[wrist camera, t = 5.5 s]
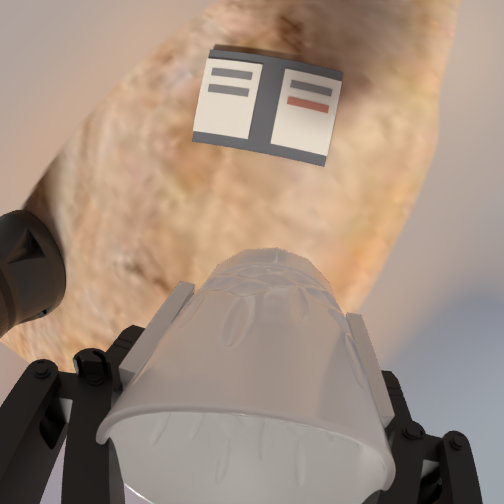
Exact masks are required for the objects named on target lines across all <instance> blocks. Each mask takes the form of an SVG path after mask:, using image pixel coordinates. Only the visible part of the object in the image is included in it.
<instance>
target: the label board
mask: <svg viewBox="0 0 504 504" xmlns="http://www.w3.org/2000/svg"><path fill="white" fill-rule="evenodd" d="M342 76H343V72H339V71H336V70H332V69H328V68H324V67H320V66H315V65H311V64H307V63H302V62H297V61H292V60H287V59H281V58H275V57H269V56H263V55H256V54H249V53H241V52H231V51H221V50H210V53H209V57H208V58H207V62H206V66H205V71H204V75H203V80H202V85H201V90H200V95H199V100H198V105H197V110H196V116H195V121H194V127H193V131H194V132H193V138H192V142H199V143H206V144H213V145H219V146H225V147H231V148H237V149H243V150H248V151H253V152H259V153H264V154H269V155H274V156H279V157H283V158H288V159H293V160H297V161H302V162H306V163H310V164H315V165H319V166H323V167H324V165H325V161H326V156H327V154H328V149H329V145H330V140H331V135H332V130H333V125H334V120H335V115H336V110H337V105H338V100H339V95H340V90H341V84H342Z"/></svg>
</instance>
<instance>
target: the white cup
mask: <svg viewBox="0 0 504 504" xmlns="http://www.w3.org/2000/svg"><path fill="white" fill-rule="evenodd" d="M109 437H110V438H111V439H112V441H113V443H114V445H115V449H116V452H117V456H118V460H119V465H120V470H121V475H122V479H123V483H124V485H125V486H126V487H128V488H129V489H130V490H131V491H133V492H134V493H136V494H137V495H139V496H140V497H142V498H143V499H145V500H147V501H148V502H150V503H152V504H362V503H363V502H364V500H365V499H366V498H367V497H368V496H370V495H371V494H372V493H373V492H375V491H377V490H380V489H381V490H383V491H386V490H388V489H389V488H390V486H391V485H392V483H393V481H394V478H395V472H396V467H395V462H394V459H393V455H392V452H391V449H390V445H389V442H388V439H387V435H386V432H385V429H384V426H383V423H382V419H381V416H380V413H379V410H378V407H377V404H376V401H375V398H374V394H373V391H372V388H371V385H370V382H369V379H368V376H367V373H366V370H365V367H364V365H363V362H362V359H361V356H360V353H359V350H358V348H357V345H356V342H355V340H354V338H353V336H352V334H351V331H350V328H349V326H348V323H347V321H346V318H345V316H344V314H343V313H342V311H341V309H340V307H339V306H338V304H337V302H336V300H335V297H334V294H333V291H332V288H331V285H330V283H329V281H328V280H327V279H326V278H325V277H324V275H323V274H322V273H321V272H320V271H319V270H318V269H317V268H316V267H315V266H314V265H313V264H312V263H311V262H310V261H309V260H308V259H307V258H304V257H301V256H299V255H296V254H293V253H291V252H288V251H286V250H283V249H280V248H262V249H247V250H243V251H241V252H239V253H238V254H236V255H234V256H232V257H231V258H229V259H227V260H225V261H223V262H222V263H220V264H218V265H217V266H216V268H215V269H214V271H213V272H212V274H211V275H210V277H209V278H208V280H207V281H206V282H205V284H204V285H203V286H202V287H201V288H200V289H199V290H198V291H197V292H196V293H195V294H194V295H193V296H192V297H191V298H190V299H189V301H188V302H187V303H186V304H185V306H184V307H183V308H182V310H181V311H180V312H179V314H178V315H177V316H176V318H175V319H174V320H173V322H172V323H171V324H170V325H169V326H168V328H167V329H166V330H165V331H164V333H163V334H162V335H161V337H160V338H159V340H158V341H157V343H156V344H155V346H154V347H153V349H152V350H151V351H150V353H149V354H148V356H147V357H146V359H145V360H144V362H143V363H142V364H141V366H140V367H139V369H138V370H137V372H136V373H135V375H134V376H133V377H132V379H131V380H130V382H129V383H128V385H127V386H126V388H125V389H124V391H123V392H122V393H121V395H120V396H119V398H118V399H117V401H116V402H115V404H114V405H113V407H112V408H111V409H110V411H109V412H108V414H107V415H106V417H105V418H104V420H103V421H102V423H101V424H100V426H99V428H98V430H97V434H96V442H97V443H99V444H105V443H106V441H107V440H108V438H109Z"/></svg>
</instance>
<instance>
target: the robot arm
mask: <svg viewBox="0 0 504 504" xmlns="http://www.w3.org/2000/svg"><path fill="white" fill-rule="evenodd" d="M194 289H195V284H192V283H187V282H183V281H180V282H179V283H178V284H177V286H176V287H175V289H174V290H173V291H172V293H171V294H170V295H169V297H168V298H167V299H166V301H165V302H164V304H163V305H162V306H161V308H160V309H159V311H158V312H157V313H156V315H155V316H154V317H153V319H152V320H151V322H150V323H149V324H148V326H147V327H146V328H142V327H139V326H135V325H132V326H130V327H128V328H126V329H124V330H123V331H122V332H121V334H120V335H119V336H118V338H117V339H116V340H115V341H114V343H113V345H111V346H110V348H109V349H108V350H107V351H106V352H104V351H102V350H100V349H95V348H88V349H84V350H81V351H79V352H78V353H77V354H75V356H74V358H73V363H74V367H75V371H76V373H67V372H60V371H59V370H58V367H57V366H56V364H55V363H54V362H52V361H50V360H46V359H40V360H36V361H34V362H32V363H31V364H30V365H29V366H28V367H27V369H26V370H25V371H24V373H23V374H22V376H21V377H20V378H19V380H18V381H17V383H16V384H15V386H14V387H13V389H12V390H11V392H10V393H9V395H8V396H7V398H6V399H5V401H4V402H3V404H2V405H1V407H0V504H40V501H41V498H42V495H43V493H44V490H45V487H46V484H47V482H48V479H49V477H50V474H51V472H52V469H53V467H54V464H55V461H56V459H57V457H58V454H59V452H60V449H61V447H62V445H63V442H64V440H65V438H66V436H67V439H66V447H65V456H64V466H63V479H62V496H61V504H125V496H124V483H123V479H122V475H121V470H120V465H119V460H118V456H117V452H116V449H115V445H114V443H113V441H112V439H111V438H110V437H109V438H108V440H107V441H106V443H105V444H99V443H97V442H96V434H97V430H98V428H99V426H100V424H101V423H102V421H103V420H104V418H105V417H106V415H107V414H108V412H109V411H110V409H111V408H112V407H113V405H114V404H115V402H116V401H117V399H118V398H119V396H120V395H121V393H122V392H123V391H124V389H125V388H126V386H127V385H128V383H129V382H130V380H131V379H132V377H133V376H134V375H135V373H136V372H137V370H138V369H139V367H140V366H141V364H142V363H143V362H144V360H145V359H146V357H147V356H148V354H149V353H150V351H151V350H152V349H153V347H154V346H155V344H156V343H157V341H158V340H159V338H160V337H161V335H162V334H163V333H164V331H165V330H166V329H167V328H168V326H169V325H170V324H171V323H172V322H173V320H174V319H175V318H176V316H177V315H178V314H179V312H180V311H181V310H182V308H183V307H184V306H185V304H186V303H187V302H188V301H189V299H190V298H191V297H192V296H193V295H194ZM64 292H65V271H64V266H63V262H62V258H61V255H60V253H59V250H58V248H57V245H56V243H55V241H54V239H53V238H52V236H51V234H50V233H49V231H48V230H47V228H46V227H45V226H44V225H43V223H42V222H41V221H40V220H39V219H38V218H36V217H35V216H34V215H32V214H31V213H29V212H26V211H23V210H15V211H12V212H10V213H7V214H4V215H3V216H1V217H0V338H1V337H2V336H3V335H4V334H5V333H6V332H8V331H9V330H10V329H11V328H12V327H14V326H15V325H18V324H21V323H25V322H28V321H31V320H35V319H38V318H41V317H44V316H46V315H48V314H49V313H50V312H52V311H53V310H54V309H55V308H56V307H57V306H58V305H59V304H60V303H61V301H62V299H63V296H64ZM345 318H346V321H347V323H348V326H349V328H350V331H351V334H352V336H353V338H354V340H355V342H356V345H357V348H358V350H359V353H360V356H361V359H362V362H363V365H364V367H365V370H366V373H367V376H368V379H369V382H370V385H371V388H372V391H373V394H374V398H375V401H376V404H377V407H378V410H379V413H380V416H381V419H382V423H383V426H384V429H385V432H386V435H387V439H388V442H389V445H390V449H391V452H392V455H393V459H394V462H395V467H396V472H395V478H394V481H393V483H392V485H391V486H390V488H389V489H388V490H386V491H383V490H381V489H380V490H377V491H375V492H373V493H372V494H371V495H370V496H368V497H367V498H366V499H365V500H364V502H363V503H362V504H483V503H482V496H481V491H480V486H479V481H478V476H477V472H476V467H475V463H474V459H473V455H472V451H471V447H470V444H469V441H468V439H467V438H466V436H465V435H464V434H462V433H460V432H458V431H449V432H448V433H446V434H445V435H444V436H443V438H440V437H435V436H431V435H428V434H426V433H425V430H424V429H423V427H422V426H421V425H420V424H419V423H417V422H415V421H412V418H411V415H410V412H409V410H408V407H407V404H406V401H405V398H404V397H403V392H402V390H401V387H400V384H399V381H398V379H397V378H396V377H395V375H394V374H393V373H392V372H391V371H381V370H380V367H379V364H378V361H377V358H376V355H375V352H374V349H373V346H372V343H371V341H370V338H369V336H368V332H367V329H366V327H365V324H364V321H363V318H362V316H361V315H359V314H353V313H347V314H346V317H345Z"/></svg>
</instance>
